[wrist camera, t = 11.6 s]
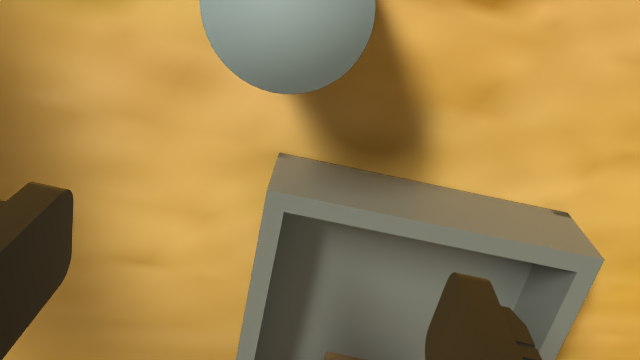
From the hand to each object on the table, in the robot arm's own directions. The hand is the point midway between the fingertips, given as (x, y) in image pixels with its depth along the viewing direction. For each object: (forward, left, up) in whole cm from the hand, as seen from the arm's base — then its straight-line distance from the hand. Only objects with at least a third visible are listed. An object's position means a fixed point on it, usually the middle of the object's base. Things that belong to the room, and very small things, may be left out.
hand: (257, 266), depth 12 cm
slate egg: (-4, -1, -13) cm, 14 cm away
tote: (+12, +6, -13) cm, 19 cm away
